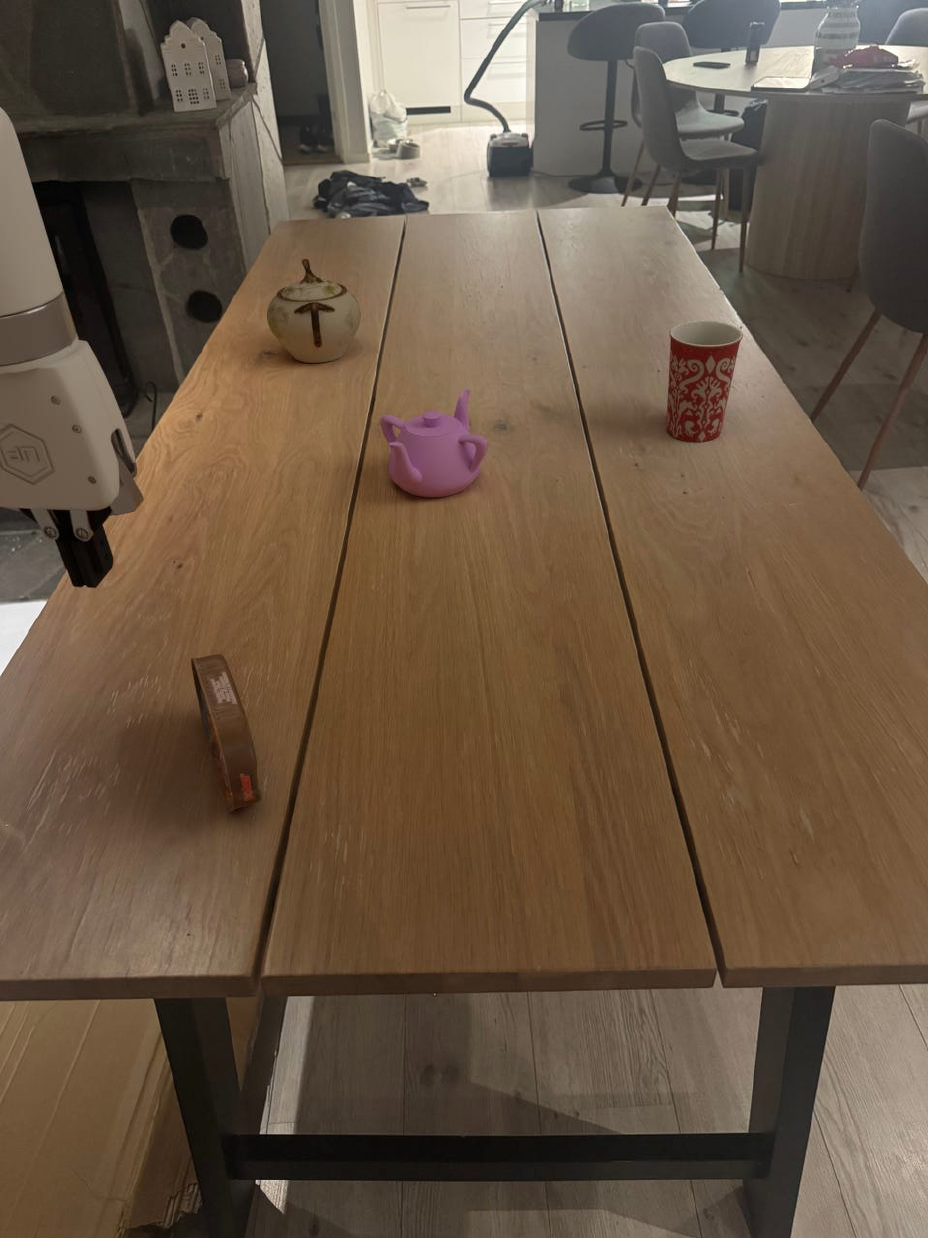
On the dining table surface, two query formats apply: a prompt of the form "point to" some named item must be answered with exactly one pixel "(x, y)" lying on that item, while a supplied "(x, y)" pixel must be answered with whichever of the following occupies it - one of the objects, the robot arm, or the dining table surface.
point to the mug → (700, 378)
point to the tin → (226, 731)
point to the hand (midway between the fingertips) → (94, 576)
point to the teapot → (434, 451)
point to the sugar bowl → (314, 318)
